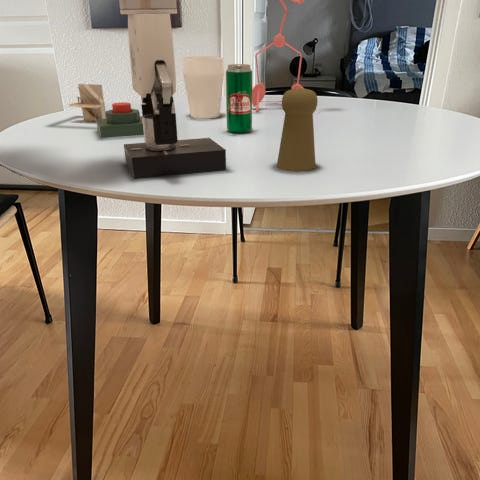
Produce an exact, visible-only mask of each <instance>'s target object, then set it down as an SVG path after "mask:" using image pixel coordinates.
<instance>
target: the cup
mask: <svg viewBox="0 0 480 480" xmlns="http://www.w3.org/2000/svg"><path fill="white" fill-rule="evenodd" d="M224 69H225V68H224V58H223V56H186V57H183V59H182V75H183V80H184V87H185V92H186V98H187V103H188V107H189V108H188V109H189V114H190V117H191V118H193V119H200V120H201V119H203V120H204V119H205V120H206V119H208V120H209V119H211V120H212V119H216V118H219V117H220V115H221V104H222V97H223V96H222V95H223V86H224V85H223V84H224V76H225V71H224Z"/></svg>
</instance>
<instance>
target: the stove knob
mask: <svg viewBox="0 0 480 480" xmlns="http://www.w3.org/2000/svg"><path fill="white" fill-rule="evenodd" d="M141 116H142V115H141ZM142 121H143V131H144V135H143V141H144V143H145V149H147V150H150V151H167V150H172V149H174V148H175V147H176V144H164V145H157V144H156V143H155V139H154V128H153V118H152V114H148V115H144V116H142Z"/></svg>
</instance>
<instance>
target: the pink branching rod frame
mask: <svg viewBox="0 0 480 480" xmlns="http://www.w3.org/2000/svg"><path fill="white" fill-rule="evenodd" d="M275 1H278V0H275ZM289 1H291V2H294V3H296V4H298V5H303V3H305V2H306V0H289ZM279 2H280V4H281V5H282V7H283V9H284V13H283V16H282V20H281V24H280V28H279V33H278V34H276V35H275V36H273V42H272V43H270V44H268V46H266V47H264V48H262V49H261V50H260V51H258V52H257V53H255V55H254V58H255V69H256V78H257V83H256V84H254V86H252V106H253V107H254V108H255V112H259V107H260V106H259V105H260V103H264V101H263V99H264V98H265V96H266V86H265V84H264V83H263V82H261V83H260V74H259V65H258V55H260V54H261V53H263V52H264V51H266V50H268V49H269V48H270V47H272V46H274V47H276V48H278V49H279V48H283V47H284V45H285V46H286V47H288V48H289V49H291V50H293V51H294V52H295V53H297V54H299V55H300V57H299V65H298V73H297V82H296V83H294V84H293V85H292V86H291V89H297V88H303V89H305V88H304V87H303V85H301V84H300V77H301V68H302V61H303V54H302V52H300V51H298V50H297V49H295V47H293V46H291V45H290V44H288V43H287V42H286V38H285V36H284V35H283V34H282V32H283V28H284V24H285V20H286V18H287V14H288V11H289V10H288V6H287V5H286V4H285V2H284V1H283V0H279ZM291 89H290V90H291ZM265 103H282V100H277V101H275V100H274V101H271V100H269V101H268V100H267V101H266V100H265ZM319 113H321V111H318V113H317V114H319Z"/></svg>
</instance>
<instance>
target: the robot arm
mask: <svg viewBox="0 0 480 480" xmlns="http://www.w3.org/2000/svg"><path fill="white" fill-rule="evenodd" d="M118 2H119V9H120V10H119V12H120V15H127V32H128V33H127V34H128V49H129V60H130V74H131V86H132V90H133V91H134V92H136V93H137V95H139V96H140V99H141V104H140V107H141V116H144V115H148V114H152V118H153V128H154V139H155V143H156V144H157V145H164V144H176V143H177V142H178V140H179V139H178V129H177V128H178V127H177V114H176V106H175V102H174V95H175V94H176V93H177V76H176V63H175V62H176V61H175V48H174V39H173V29H172V20H171V15H176V14H178V4H177V3H178V2H177V0H118Z"/></svg>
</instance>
